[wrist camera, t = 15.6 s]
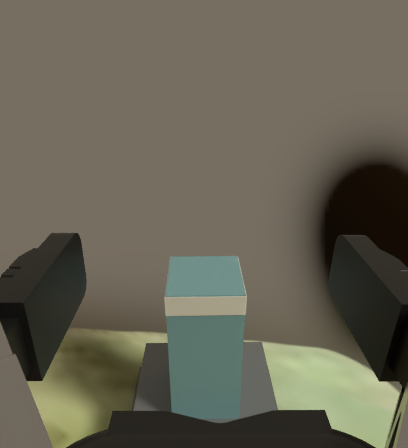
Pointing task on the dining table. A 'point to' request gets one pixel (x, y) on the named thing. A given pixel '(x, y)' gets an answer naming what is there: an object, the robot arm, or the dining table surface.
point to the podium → (161, 394)
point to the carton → (205, 335)
